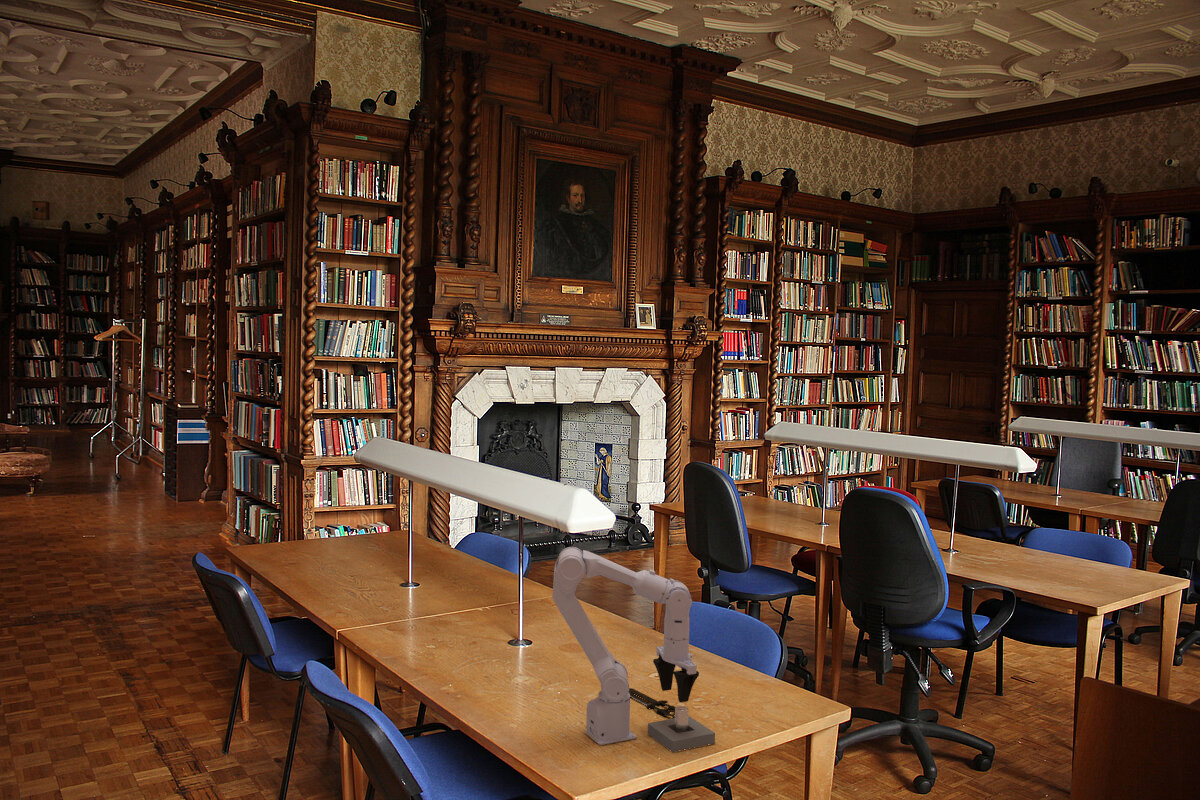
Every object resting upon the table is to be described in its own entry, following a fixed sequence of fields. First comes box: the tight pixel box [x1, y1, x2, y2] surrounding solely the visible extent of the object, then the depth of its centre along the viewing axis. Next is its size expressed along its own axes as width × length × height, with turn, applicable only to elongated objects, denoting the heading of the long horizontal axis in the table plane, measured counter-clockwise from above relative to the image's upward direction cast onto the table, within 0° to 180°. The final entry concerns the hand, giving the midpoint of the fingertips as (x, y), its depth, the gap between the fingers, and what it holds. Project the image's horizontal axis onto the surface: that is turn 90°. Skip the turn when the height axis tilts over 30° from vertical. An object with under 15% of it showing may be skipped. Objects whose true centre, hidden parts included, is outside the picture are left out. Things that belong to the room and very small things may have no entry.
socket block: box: [647, 715, 716, 753], centre depth 209 cm, size 11×11×2 cm
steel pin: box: [674, 705, 690, 733], centre depth 209 cm, size 3×3×7 cm
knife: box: [629, 687, 677, 719], centre depth 231 cm, size 25×6×1 cm, turn 30°
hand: (674, 695), depth 210 cm, fingers open, 7 cm apart
